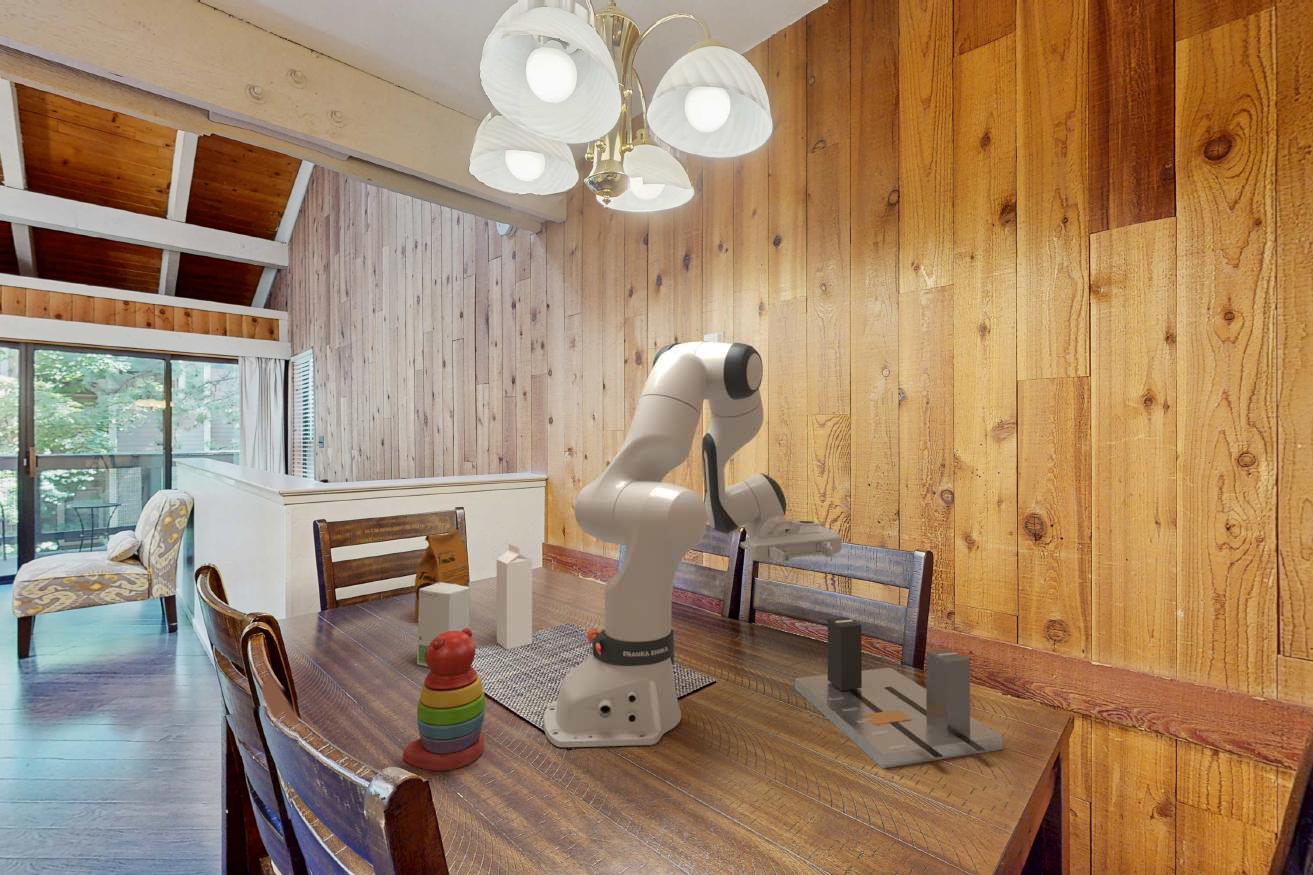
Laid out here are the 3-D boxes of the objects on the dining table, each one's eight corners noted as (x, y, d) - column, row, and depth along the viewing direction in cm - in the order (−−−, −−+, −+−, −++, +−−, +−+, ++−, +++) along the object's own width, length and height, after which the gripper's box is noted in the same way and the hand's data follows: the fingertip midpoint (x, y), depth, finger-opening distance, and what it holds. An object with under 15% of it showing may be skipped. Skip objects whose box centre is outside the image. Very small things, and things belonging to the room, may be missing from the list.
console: (894, 778, 78) (894, 681, 78) (795, 689, 105) (794, 617, 105) (1016, 758, 82) (1016, 666, 82) (890, 677, 110) (890, 608, 110)
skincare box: (416, 665, 117) (415, 588, 117) (439, 654, 123) (439, 581, 123) (448, 671, 113) (448, 592, 113) (471, 659, 120) (471, 584, 120)
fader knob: (841, 690, 99) (840, 625, 99) (827, 679, 104) (827, 617, 104) (861, 687, 100) (861, 623, 100) (847, 677, 105) (847, 616, 105)
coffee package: (408, 622, 144) (408, 534, 144) (445, 609, 155) (445, 527, 155) (438, 628, 140) (437, 537, 140) (474, 613, 151) (474, 530, 151)
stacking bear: (464, 727, 92) (463, 615, 92) (502, 748, 85) (502, 629, 85) (397, 756, 83) (397, 633, 83) (434, 782, 77) (434, 650, 77)
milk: (506, 650, 125) (506, 549, 125) (496, 642, 130) (495, 544, 130) (532, 643, 129) (532, 545, 129) (521, 636, 134) (520, 541, 133)
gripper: (736, 528, 127) (758, 544, 114) (823, 520, 131) (854, 535, 117) (737, 556, 128) (759, 575, 114) (824, 547, 131) (854, 565, 117)
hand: (808, 554), depth 116 cm, fingers open, 8 cm apart
